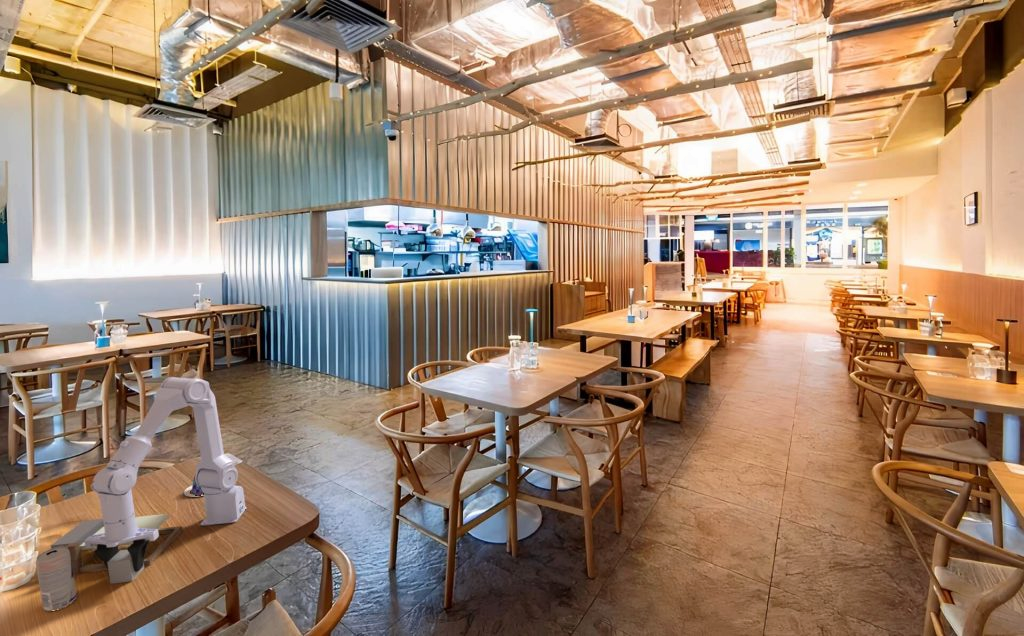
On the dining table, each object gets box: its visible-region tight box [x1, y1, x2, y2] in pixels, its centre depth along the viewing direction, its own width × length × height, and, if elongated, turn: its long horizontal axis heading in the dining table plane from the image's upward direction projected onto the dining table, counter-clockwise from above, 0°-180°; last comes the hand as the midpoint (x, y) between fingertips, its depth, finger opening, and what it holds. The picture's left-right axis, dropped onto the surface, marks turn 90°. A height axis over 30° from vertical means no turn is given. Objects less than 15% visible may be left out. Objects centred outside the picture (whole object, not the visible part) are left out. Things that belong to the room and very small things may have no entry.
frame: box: [66, 525, 183, 575], centre depth 122 cm, size 24×16×7 cm
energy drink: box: [35, 546, 78, 612], centre depth 104 cm, size 5×5×12 cm
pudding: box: [183, 476, 204, 498], centre depth 155 cm, size 12×12×5 cm
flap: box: [50, 513, 170, 551], centre depth 122 cm, size 20×12×2 cm, turn 99°
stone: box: [107, 549, 145, 585], centre depth 113 cm, size 5×5×5 cm
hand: (127, 570), depth 113 cm, fingers closed on stone, 5 cm apart
